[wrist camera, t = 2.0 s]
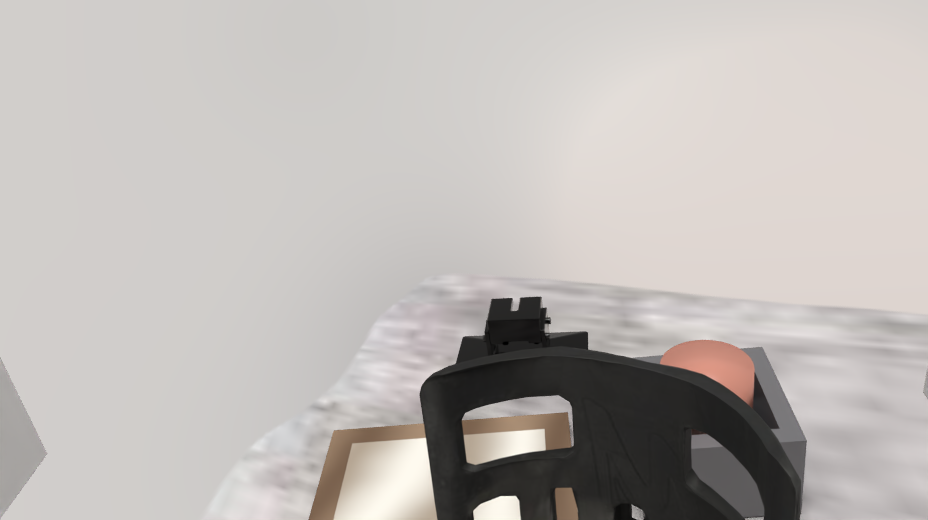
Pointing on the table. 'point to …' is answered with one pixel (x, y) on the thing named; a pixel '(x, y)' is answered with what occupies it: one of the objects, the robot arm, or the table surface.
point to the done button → (715, 365)
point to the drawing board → (427, 468)
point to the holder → (601, 439)
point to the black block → (517, 331)
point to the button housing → (722, 465)
